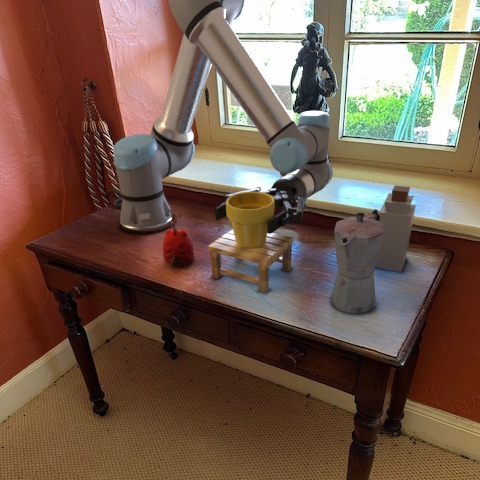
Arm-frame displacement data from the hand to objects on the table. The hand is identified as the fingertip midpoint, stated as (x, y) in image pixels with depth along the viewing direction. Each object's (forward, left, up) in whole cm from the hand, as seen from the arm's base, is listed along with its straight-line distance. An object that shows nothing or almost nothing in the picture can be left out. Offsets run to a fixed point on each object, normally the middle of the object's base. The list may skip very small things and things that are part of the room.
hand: (241, 220), depth 97 cm
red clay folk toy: (-15, -10, -14) cm, 23 cm away
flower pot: (-1, +3, -6) cm, 7 cm away
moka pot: (+21, +14, -14) cm, 29 cm away
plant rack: (-1, +3, -14) cm, 15 cm away
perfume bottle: (+13, +32, -14) cm, 38 cm away
